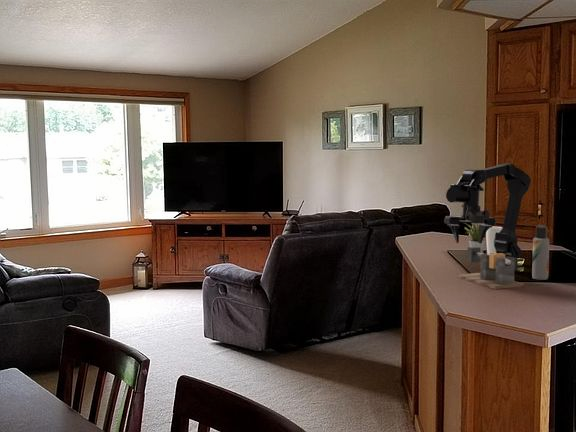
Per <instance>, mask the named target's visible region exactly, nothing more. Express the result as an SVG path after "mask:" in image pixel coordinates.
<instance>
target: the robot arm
mask: <svg viewBox="0 0 576 432" xmlns="http://www.w3.org/2000/svg"><path fill="white" fill-rule="evenodd" d="M501 176H503V179H504V180H505V181H506V183H507V185H506V188H507V191H508V194H509V195H508V200H507V205H506V209H505V214H504V219H503V223H502V230H501V231H500V232H499V233H498V232H496V234H495V239H494V241H493V242H494V247H495V249H496V253H503V254H505V259H506V257H513V258H515V269H514V273H516V272H521V269H518V264H519V263H518V261H519V260H518V259H519V258H520V257H522V256H523V255H522V254H523V250H522V249H521V247H520V246H519V245H518V236H517V233H516V229H517V223H518V219H519V215H520V211H521V206H522V205H521V204H522V201H523V196H524V195H525V194H527V192H528V190H529V188H530V184H531V177H530V175H529V174H528V173H526V172H525V171H523V170H522V169H520V168H518V167H517V166H516V165H515V164H513V163H512V162H511V163H510V162H509V163H508V162H507V163H506V162H505V163H501V164H498V165H493V166H490V167H486V168H481V169H465V170H463V172H462V175H461V176H460V177H459V180H458V181H457V183H456V184H453V183H451V184H450V187H449V188H448V189H447V191H446V192H445V197H446V200H447V201H448V203H462V204H461V208H462V215H461V217H459V216H454V215H453V216H452V215H451V216H450V215H445V217H444V219H443V223H444V224H447V226H448V227H449V228H450V230H451V232H452V234H453V237H454V240H455V243H456V244H459V241H460V240H459V239H460V227H461V225H459V224H465V223H466V224H472V223H473V224H477V223H478V226H479V243H480V244H481V243H482V240H484V238H485V237H486V236H485V235H486V232H487V230H488V229H489V228H492V226H497V219H496V218H495V217H490V214H491V213H490V212H491V211H489V210H487V209H486V210H483V211H482V210H481V206H480V205H479V204H480V203H479V202H480V192H483V191H485V189H484V187H482V186H481V184H484V183H486V181H487V180H489V179H492V178H496V177H501ZM480 224H481V225H480Z"/></svg>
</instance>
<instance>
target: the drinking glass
mask: <svg viewBox="0 0 576 432" xmlns="http://www.w3.org/2000/svg"><path fill="white" fill-rule="evenodd" d="M491 226H492V228H489V229H488V230H487V232H486V234H485V235H486V236H485V239H486V240H485V243H486V254H488V255H489V254H490V253H496V249H495V247H494V242H493V241H494V239H495V234H496V232H498V233H499V232H500V231H501V230H502V228H503V226H496V225H491Z"/></svg>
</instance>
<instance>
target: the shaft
mask: <svg viewBox="0 0 576 432" xmlns="http://www.w3.org/2000/svg"><path fill="white" fill-rule="evenodd" d="M480 250H481V247H470V246H467V262H468V263H481V254H485V253H484V252H483V253H480ZM486 254H487V253H486ZM487 255H488V254H487ZM497 258H499V257H497ZM500 258H501V257H500ZM504 259H505V258H504ZM505 264H506V265H510V264H511V260H509V259H505Z"/></svg>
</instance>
